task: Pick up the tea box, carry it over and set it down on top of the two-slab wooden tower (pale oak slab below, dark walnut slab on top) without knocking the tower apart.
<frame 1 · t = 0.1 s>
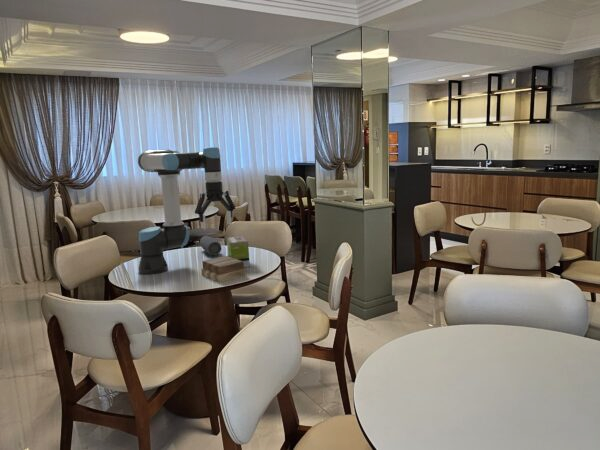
hand: (216, 226, 203), 28 cm above the table, fingers open, 13 cm apart
walnut slab: (223, 268, 222), point 3 cm above the table, touching oak slab
bluetooth speaker: (211, 253, 272), on the table
oak slab: (223, 276, 223), on the table, touching walnut slab
tea box: (238, 265, 243), on the table
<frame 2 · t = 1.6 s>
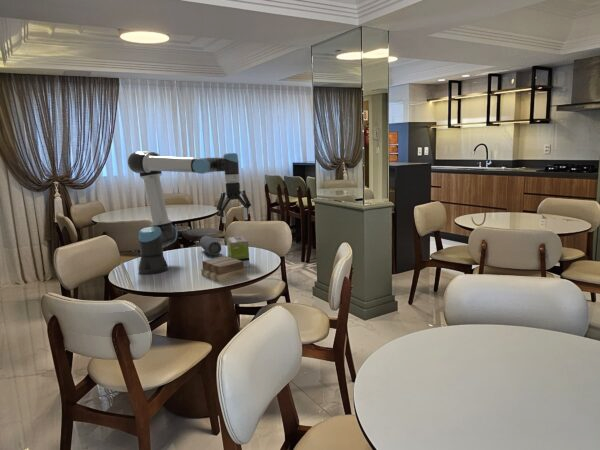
hand: (235, 221, 236), 25 cm above the table, fingers open, 13 cm apart
nothing on the table moved.
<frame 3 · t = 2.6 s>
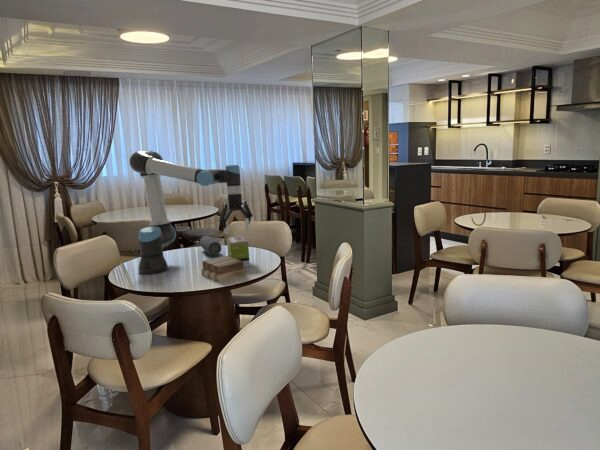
hand: (237, 231, 239), 19 cm above the table, fingers open, 13 cm apart
nothing on the table moved.
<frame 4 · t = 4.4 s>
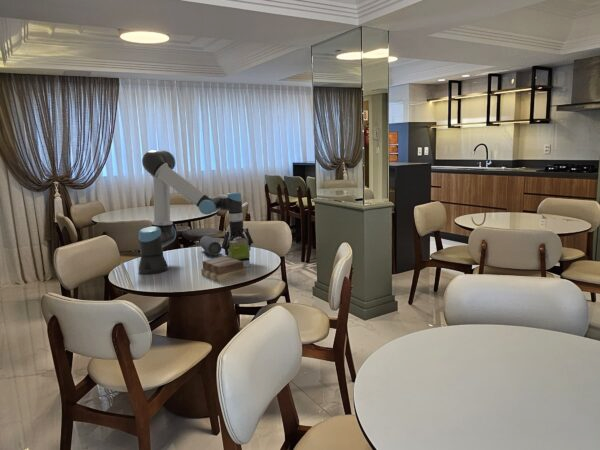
hand: (238, 258, 242), 3 cm above the table, fingers closed on tea box, 12 cm apart
tea box: (238, 265, 242), on the table, touching gripper
everything else where it was.
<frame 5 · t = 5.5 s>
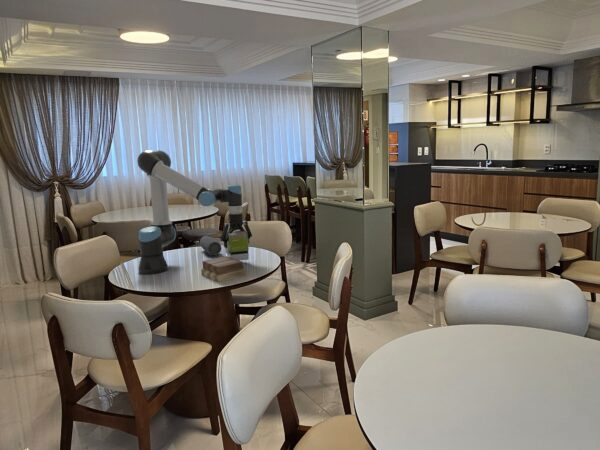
hand: (237, 251, 241), 8 cm above the table, fingers closed on tea box, 12 cm apart
tea box: (237, 257, 242), point 4 cm above the table, touching gripper
everything else where it was.
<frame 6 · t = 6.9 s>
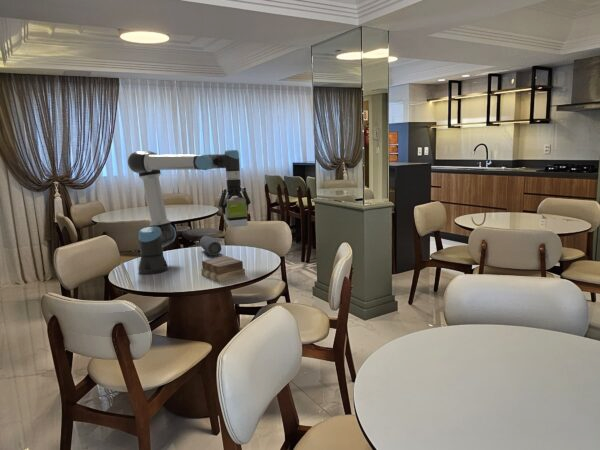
hand: (235, 218, 238), 26 cm above the table, fingers closed on tea box, 12 cm apart
tea box: (236, 224, 239), point 23 cm above the table, touching gripper
everything else where it was.
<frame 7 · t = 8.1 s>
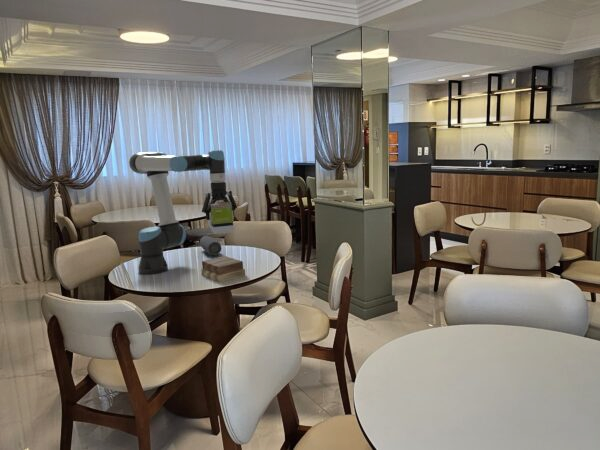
hand: (221, 224, 219), 26 cm above the table, fingers closed on tea box, 12 cm apart
tea box: (221, 231, 220), point 23 cm above the table, touching gripper
everything else where it was.
when the fingers open (13 cm above the table, at t = 11.5 s): tea box drops 2 cm, point 7 cm above the table.
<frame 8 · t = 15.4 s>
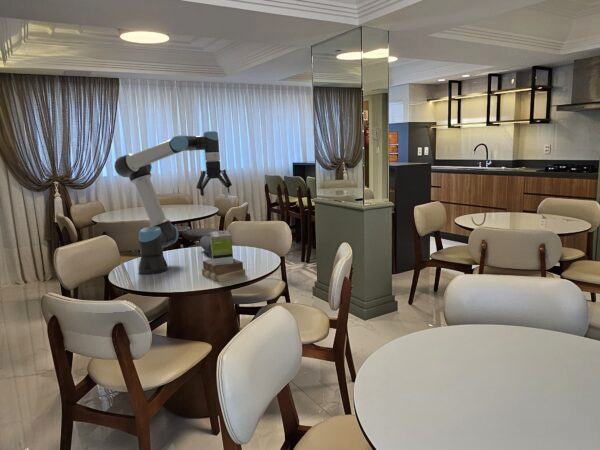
hand: (215, 200, 234), 37 cm above the table, fingers open, 13 cm apart
tea box: (222, 261, 221), point 7 cm above the table
at the end: tea box point 7.1 cm above the table; tea box 0.1 cm from the walnut slab (horizontally); walnut slab moved 0.8 cm from its start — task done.
